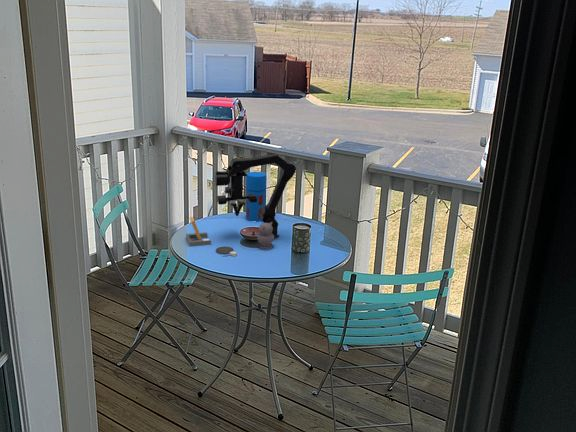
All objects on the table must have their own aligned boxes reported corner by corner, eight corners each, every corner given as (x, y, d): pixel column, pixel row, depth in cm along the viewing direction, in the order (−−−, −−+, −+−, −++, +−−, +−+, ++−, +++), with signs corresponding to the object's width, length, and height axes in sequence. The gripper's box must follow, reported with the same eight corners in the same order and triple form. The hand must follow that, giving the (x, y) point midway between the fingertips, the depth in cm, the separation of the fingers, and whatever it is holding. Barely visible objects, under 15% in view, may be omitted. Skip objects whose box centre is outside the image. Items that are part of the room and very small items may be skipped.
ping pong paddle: (241, 253, 256) (241, 250, 256) (229, 259, 250) (229, 256, 249) (223, 248, 262) (223, 245, 261) (212, 253, 256) (212, 250, 255)
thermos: (266, 216, 307) (267, 172, 298) (264, 222, 297) (265, 177, 288) (247, 214, 307) (247, 171, 299) (244, 221, 297) (244, 176, 289)
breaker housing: (206, 237, 273) (206, 231, 272) (211, 246, 263) (210, 240, 262) (185, 239, 270) (185, 233, 269) (189, 248, 260) (189, 242, 259)
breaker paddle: (200, 236, 269) (192, 216, 265) (202, 241, 264) (194, 220, 259) (197, 237, 269) (189, 217, 264) (199, 242, 264) (191, 222, 259)
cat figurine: (263, 242, 271) (264, 219, 267) (277, 245, 267) (277, 222, 263) (253, 247, 264) (253, 224, 260) (267, 251, 260) (268, 227, 256)
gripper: (251, 179, 274) (251, 209, 280) (214, 181, 269) (214, 211, 274) (257, 185, 264) (257, 216, 270) (218, 187, 259) (219, 219, 264)
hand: (236, 215), depth 270 cm, fingers closed
